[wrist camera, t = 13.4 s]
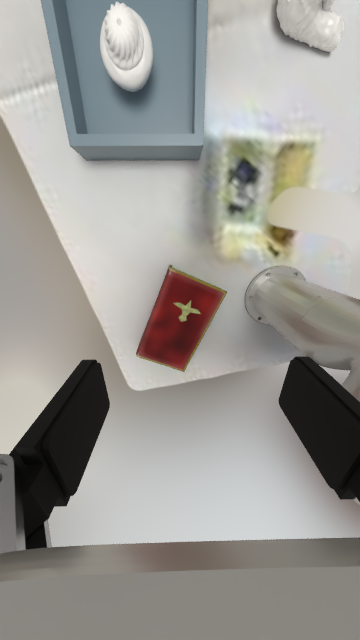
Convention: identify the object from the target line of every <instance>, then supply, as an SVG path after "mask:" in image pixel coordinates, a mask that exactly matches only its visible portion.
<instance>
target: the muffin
mask: <svg viewBox="0 0 360 640" xmlns="http://www.w3.org/2000/svg"><path fill="white" fill-rule="evenodd" d="M100 50H101V56H102V60H103V63H104V66H105V68H106V70H107V72H108V74H109V76H110V77H111V79H112V80H113V81H114V82H115V83H116V84H117V85H118V86H120V87H122V89H125V90H126V91H130V92H134V91H135V92H137V91H139V90H140V89H142V88H143V86H144V85H145V84H146V81H147V80H148V79H149V74H150V73H151V68H152V63H153V47H152V41H151V37H150V33H149V31H148V28H147V26H146V24H145V23H144V21H143V20H142V18H141V17H140V16H139V15H138V14H137V13H136V12H135V11H134V10H133V9H131V8H130V7H127V6H126V5H125V4H124V3H121V4H120V3H119V2H116V3H115V6H114V5H113V4H111V8H110V10H107V15H106V16H105V18H104V21H103V24H102V28H101V34H100Z"/></svg>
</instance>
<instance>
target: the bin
mask: <svg viewBox="0 0 360 640" xmlns="http://www.w3.org/2000/svg"><path fill="white" fill-rule="evenodd" d="M116 2H119V3H120V4H121V3H124V4H125V5H126V6H127V7H130V8H131V9H133V10H134V11H135V12H136V13H137V14H138V15H139V16H140V17H141V18H142V20H143V21H144V23H145V24H146V26H147V28H148V31H149V33H150V37H151V41H152V47H153V63H152V68H151V73H150V74H149V79H148V80H147V81H146V84H145V85H144V86H143V88H142V89H140V90H139V91H137V92H135V91H134V92H130V91H126V90H125V89H122V87H120V86H118V85H117V84H116V83H115V82H114V81H113V80H112V79H111V77H110V76H109V74H108V72H107V70H106V68H105V66H104V63H103V60H102V56H101V50H100V34H101V28H102V24H103V21H104V18H105V16H106V15H107V10H110V8H111V4H113V5H114V6H115V3H116ZM41 3H42V8H43V13H44V18H45V23H46V28H47V33H48V39H49V44H50V49H51V54H52V59H53V64H54V69H55V74H56V79H57V84H58V89H59V94H60V99H61V104H62V109H63V114H64V119H65V124H66V129H67V134H68V139H69V144H70V146H71V147H72V148H73V149H74V150H75V151H76V152H78V153H79V154H80V155H81V156H82V157H83V158H85V159H86V160H199V158H200V154H201V151H202V147H203V133H204V103H205V73H206V44H207V14H208V0H41Z"/></svg>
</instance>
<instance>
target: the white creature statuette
mask: <svg viewBox="0 0 360 640" xmlns="http://www.w3.org/2000/svg"><path fill="white" fill-rule="evenodd" d="M333 2H334V0H278V5H277V8H276V11H277V18H278V20H279V22H280V27H281V29H282V30H283V32H284V33H285V35H286V36H287V35H289V36H290V38H294V39H295V40H299V41H300V43H301V42H305V43H307V44H309V46H310V47H312V46H314V47H315V48H318V49H320V50H323V51H334V50H335V48H336V47H337V45H338V44H339V42H340V40H341V37H342V36H341V34H342V32H343V30H344V27H345V24H344V21H343V19H342V18H341V15H338V14H337V12H336V11H334V12H332V11H329V10H330V7H331V6H332V4H333Z"/></svg>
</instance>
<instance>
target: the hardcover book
mask: <svg viewBox="0 0 360 640" xmlns="http://www.w3.org/2000/svg"><path fill="white" fill-rule="evenodd" d="M226 293H227V291H224V290H222V289H220V288H218V287H216V286H214V285H211V284H209V283H207V282H204V281H202V280H200V279H197V278H195V277H193V276H190V275H188V274H185V273H183V272H181V271H178V270H176V269H174V268H172V265H170V266H169V269H168V271H167V274H166V276H165V279H164V282H163V284H162V287H161V289H160V292H159V295H158V297H157V300H156V302H155V305H154V308H153V310H152V313H151V315H150V318H149V321H148V323H147V326H146V328H145V331H144V334H143V336H142V339H141V341H140V344H139V347H138V349H137V352H136V356H137V357H140V358H143V359H146V360H149V361H152V362H155V363H158V364H161V365H165V366H168V367H171V368H174V369H177V370H180V371H183V372H184V371H185V369H186V367H187V365H188V363H189V362H190V360H191V358H192V356H193V354H194V352H195V350H196V349H197V347H198V345H199V343H200V341H201V339H202V338H203V336H204V334H205V332H206V330H207V328H208V326H209V325H210V323H211V321H212V319H213V317H214V315H215V314H216V312H217V310H218V308H219V306H220V304H221V302H222V301H223V299H224V297H225V295H226Z"/></svg>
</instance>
